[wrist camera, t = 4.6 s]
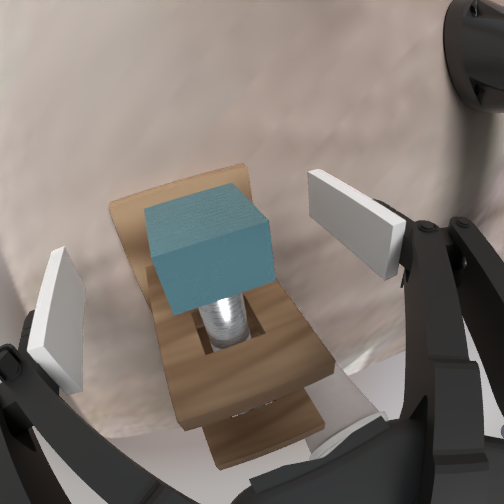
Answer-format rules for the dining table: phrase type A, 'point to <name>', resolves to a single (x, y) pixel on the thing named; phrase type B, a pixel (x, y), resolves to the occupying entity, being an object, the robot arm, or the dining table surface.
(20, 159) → the dining table surface
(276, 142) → the dining table surface
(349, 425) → the coffee cup
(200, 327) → the bracket
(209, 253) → the shaft
